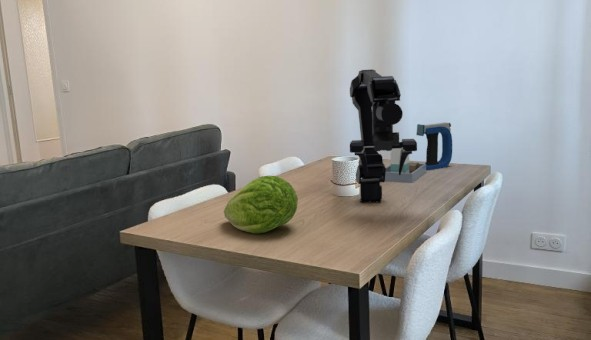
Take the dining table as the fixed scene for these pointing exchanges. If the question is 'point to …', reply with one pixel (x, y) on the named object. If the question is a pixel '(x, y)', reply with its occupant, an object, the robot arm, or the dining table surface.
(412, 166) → the walnut block
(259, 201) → the lettuce
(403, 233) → the dining table surface
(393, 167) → the carton
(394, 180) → the tote
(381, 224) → the dining table surface
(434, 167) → the handheld scanner
